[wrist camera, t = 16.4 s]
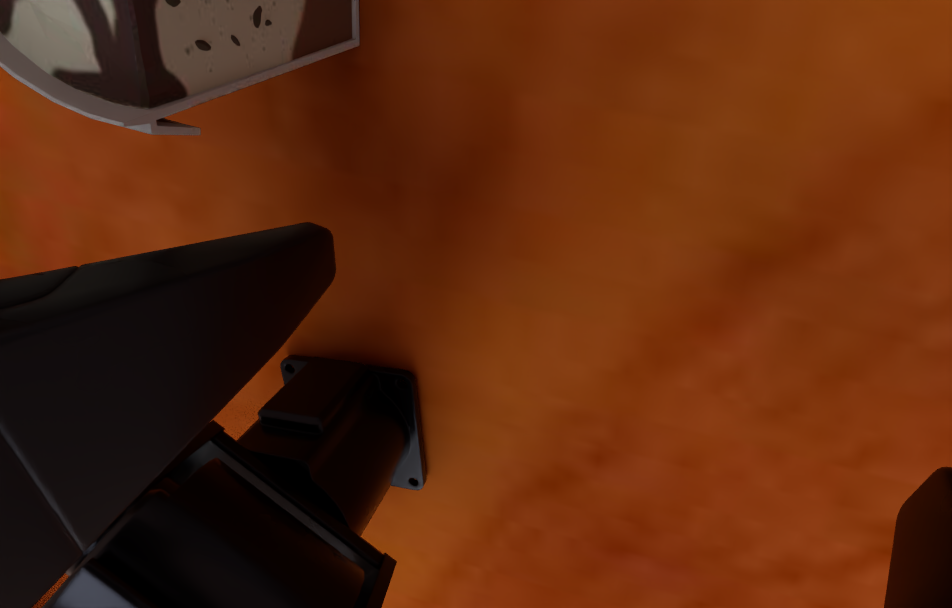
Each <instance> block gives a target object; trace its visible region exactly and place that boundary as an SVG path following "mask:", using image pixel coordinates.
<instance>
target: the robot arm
mask: <svg viewBox="0 0 952 608" xmlns="http://www.w3.org/2000/svg"><path fill="white" fill-rule="evenodd" d="M335 273H336V263H335V251H334V240H333V235H332V233H331V231H330V230H328V229H327V228H324V227H322V226H319V225H317V224H314V223H310V222H306V223H300V224H295V225H290V226H284V227H279V228H274V229H268V230H263V231H258V232H253V233H247V234H242V235H237V236H232V237H226V238H221V239H216V240H210V241H205V242H200V243H195V244H189V245H184V246H179V247H174V248H168V249H163V250H158V251H153V252H147V253H142V254H137V255H131V256H126V257H121V258H116V259H110V260H105V261H100V262H95V263H89V264H84V265H81V266H80V267H77V266H73V267H68V268H62V269H57V270H52V271H46V272H41V273H35V274H29V275H24V276H18V277H12V278H7V279H0V608H32V607H33V606H34V605H35V604H36V603H37V602H38V601H39V599H40V598H41V597H42V596H43V595H44V594H45V593H46V592H47V591H48V590H49V589H50V588H51V587H52V586H53V585H54V584H55V583H56V582H57V581H58V580H59V579H60V578H61V577H62V576H63V575H64V573H66V574H67V575H68V576H69V577H68V578H67V580H66V581H65V582H64V583H63V584H62V585H61V586H60V588H59V589H58V590H57V591H56V592H55V593H54V594H53V596H52V597H51V598H50V599H49V600H48V601H47V603H46V604H45V605H44V606H43V607H42V608H381V607H382V604H383V601H384V598H385V595H386V592H387V589H388V586H389V583H390V580H391V577H392V574H393V571H394V568H395V566H396V562H397V561H396V560H394V559H393V558H392V557H390V556H389V555H388V554H386V553H384V554H382V553H381V552H380V551H379V550H377V549H376V548H375V547H373V546H372V545H371V544H369V543H368V542H367V541H366V540H364V539H363V538H362V537H360V536H361V535H362V533H363V531H364V529H365V528H366V526H367V524H368V523H369V521H370V519H371V518H372V516H373V514H374V512H375V511H376V509H377V507H378V506H379V504H380V502H381V501H382V499H383V497H384V496H385V494H386V492H387V490H388V489H389V487H390V485H391V486H396V487H401V488H406V489H412V490H420V489H422V488H423V486H424V484H425V482H426V469H425V459H424V450H423V441H422V432H421V423H420V414H419V405H418V395H417V386H416V380H415V377H414V376H413V374H412V373H410V372H409V371H407V370H403V369H395V368H388V367H380V366H373V365H365V364H363V363H357V362H350V361H342V360H335V359H327V358H319V357H314V358H312V357H305V356H297V355H289V356H287V357H286V358H285V359H284V360H283V361H282V362H281V364H280V365H281V372H282V376H283V380H284V384H285V386H284V387H283V388H281V389H280V390H279V391H278V392H277V393H276V394H275V395H274V396H273V397H272V398H271V399H270V400H269V401H268V402H267V403H266V404H265V405H264V406H263V407H262V408H261V409H260V410H259V412H258V416H259V419H258V420H257V421H256V422H255V423H254V424H253V425H252V426H251V427H250V428H249V429H248V430H247V431H246V432H245V433H244V434H243V435H242V436H241V437H240V438H239V439H238V440H237V441H236V440H235V439H233V438H232V437H231V436H229V435H228V434H227V433H226V432H224V430H225V428H223V427H222V426H221V425H219V424H218V423H217V422H216V421H214V420H212V419H213V418H214V417H215V416H216V415H217V414H218V413H219V412H220V411H221V410H222V409H223V408H224V407H225V406H226V405H227V404H228V402H229V401H230V400H231V399H232V398H233V397H234V396H235V395H236V394H237V393H238V392H239V391H240V390H241V389H242V388H243V387H244V386H245V385H246V384H247V383H248V382H249V381H250V380H251V379H252V378H253V377H254V375H255V374H256V373H257V372H258V371H259V370H260V369H261V368H262V367H263V366H264V365H265V364H266V363H267V362H268V361H269V360H270V359H271V358H272V357H273V356H274V355H275V353H276V352H277V351H278V350H279V349H280V348H281V347H282V346H283V345H284V343H285V342H286V341H287V340H288V338H289V337H290V336H291V335H292V334H293V332H294V331H295V330H296V328H297V327H298V326H299V325H300V323H301V322H302V321H303V319H304V318H305V317H306V316H307V314H308V313H309V312H310V310H311V309H312V308H313V307H314V305H315V304H316V303H317V301H318V300H319V299H320V298H321V296H322V295H323V294H324V292H325V291H326V290H327V289H328V287H329V286H330V285H331V283H332V281H333V279H334V277H335ZM291 365H292V366H293V367H294V368H293V367H292V366H291ZM400 379H401V380H404V381H405V382H406V384H403V383H402V382H401V381H400ZM211 420H212V421H211ZM210 421H211V422H210ZM209 422H210V423H209ZM414 478H415V479H416V480H415V479H414ZM884 608H952V468H951V467H941V468H939V469H937V470H936V471H935V472H933V473H932V474H931V475H930V476H929V478H928V479H927V480H926V481H925V482H924V483H923V484H922V485H921V486H920V487H919V488H918V489H917V490H916V491H915V492H914V493H913V494H912V495H911V496H910V497H909V498H908V499H907V500H906V501H905V503H904V504H903V505H902V507H901V509H900V511H899V513H898V516H897V520H896V526H895V533H894V540H893V548H892V555H891V562H890V569H889V576H888V583H887V590H886V597H885V604H884Z"/></svg>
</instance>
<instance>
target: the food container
mask: <svg viewBox="0 0 952 608" xmlns="http://www.w3.org/2000/svg"><path fill="white" fill-rule="evenodd" d="M357 46H359V0H0V66H1V67H2V68H3V69H4V70H6V71H7V72H8V73H9V74H11V75H12V76H13V77H14V78H16V79H17V80H19V81H20V82H22V83H24V84H25V85H27V86H28V87H30V88H32V89H33V90H35V91H37V92H38V93H40V94H41V95H43V96H45V97H46V98H48V99H49V100H51V101H53V102H55V103H57V104H60V105H62V106H64V107H66V108H69V109H71V110H73V111H75V112H78V113H80V114H82V115H84V116H87V117H89V118H92V119H95V120H99V121H103V122H107V123H110V124H114V125H118V126H122V127H126V128H130V129H133V130H137V131H141V132H144V133H148V134H153V135H201V132H200V128H197V127H194V126H190V125H186V124H182V123H178V122H175V121H171V120H167V119H165V118H163V117H166V116H169V115H172V114H174V113H177V112H180V111H183V110H185V109H188V108H191V107H193V106H196V105H199V104H202V103H204V102H207V101H210V100H213V99H215V98H218V97H221V96H224V95H226V94H229V93H232V92H234V91H237V90H240V89H243V88H245V87H248V86H251V85H254V84H256V83H259V82H262V81H265V80H267V79H270V78H273V77H275V76H278V75H281V74H284V73H286V72H289V71H292V70H295V69H297V68H300V67H303V66H305V65H308V64H311V63H314V62H316V61H319V60H322V59H325V58H327V57H330V56H333V55H336V54H338V53H341V52H344V51H346V50H349V49H352V48H355V47H357Z"/></svg>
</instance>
